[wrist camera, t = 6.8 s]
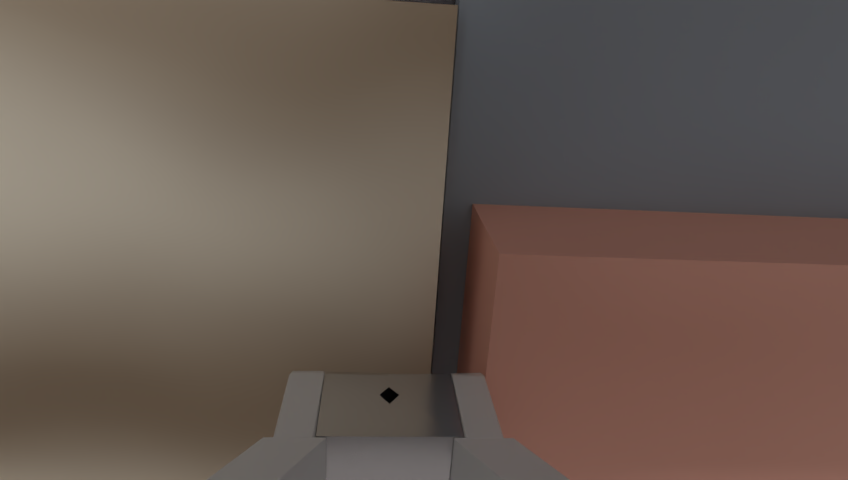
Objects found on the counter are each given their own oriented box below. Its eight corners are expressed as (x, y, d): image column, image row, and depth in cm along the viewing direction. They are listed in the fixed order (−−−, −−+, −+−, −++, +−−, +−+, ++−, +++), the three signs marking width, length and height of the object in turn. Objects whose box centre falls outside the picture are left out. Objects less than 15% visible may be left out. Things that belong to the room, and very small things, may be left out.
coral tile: (447, 472, 13) (463, 574, 10) (472, 203, 11) (499, 254, 8) (839, 472, 13) (936, 566, 11) (931, 221, 11) (1074, 272, 9)
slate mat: (464, -125, 9) (469, -135, 9) (1083, -71, 10) (1123, -76, 10) (411, 609, 15) (412, 633, 14) (822, 599, 16) (838, 620, 15)
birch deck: (-271, -39, 9) (-441, -57, 7) (442, 9, 10) (458, 5, 8) (-89, 556, 13) (-167, 645, 11) (407, 548, 14) (411, 628, 12)
